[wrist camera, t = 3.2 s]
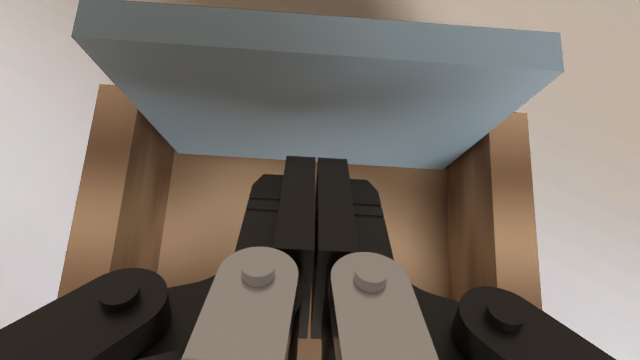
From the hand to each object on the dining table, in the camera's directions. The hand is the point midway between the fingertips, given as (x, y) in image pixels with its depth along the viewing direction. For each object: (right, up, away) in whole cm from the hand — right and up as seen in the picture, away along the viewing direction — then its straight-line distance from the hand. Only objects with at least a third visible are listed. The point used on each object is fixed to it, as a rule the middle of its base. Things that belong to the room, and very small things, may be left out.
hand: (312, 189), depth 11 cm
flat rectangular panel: (0, +2, +11) cm, 11 cm away
